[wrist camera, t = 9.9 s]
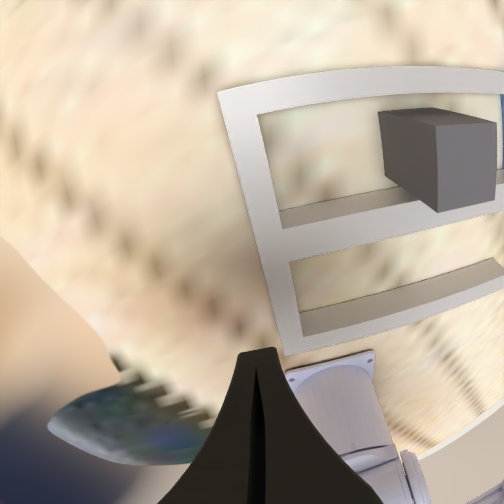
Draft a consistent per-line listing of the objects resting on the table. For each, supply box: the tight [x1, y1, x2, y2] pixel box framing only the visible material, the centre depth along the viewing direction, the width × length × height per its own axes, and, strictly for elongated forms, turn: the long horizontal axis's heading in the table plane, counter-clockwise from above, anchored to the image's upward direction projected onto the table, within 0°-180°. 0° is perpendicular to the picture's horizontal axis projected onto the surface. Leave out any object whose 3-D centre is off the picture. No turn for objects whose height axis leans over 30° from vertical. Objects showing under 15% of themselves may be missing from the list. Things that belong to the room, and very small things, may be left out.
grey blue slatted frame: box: [217, 66, 504, 356], centre depth 16 cm, size 17×21×4 cm
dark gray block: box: [378, 108, 497, 213], centre depth 14 cm, size 4×4×6 cm
